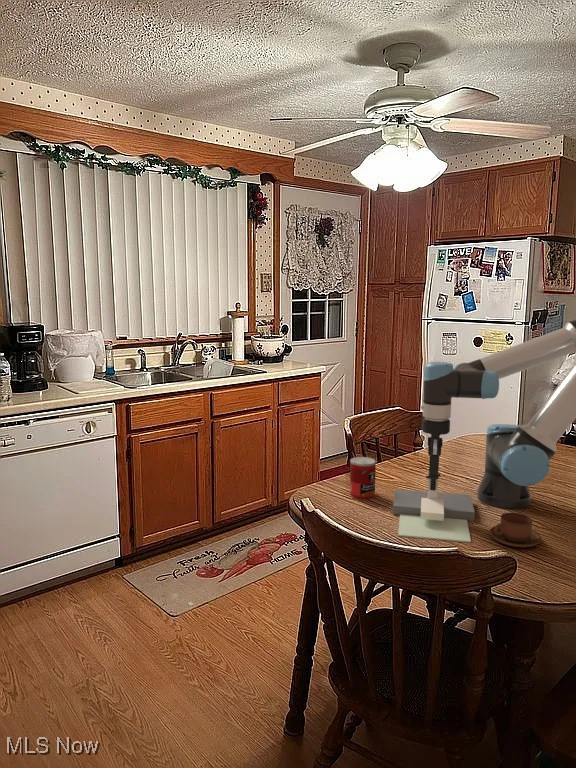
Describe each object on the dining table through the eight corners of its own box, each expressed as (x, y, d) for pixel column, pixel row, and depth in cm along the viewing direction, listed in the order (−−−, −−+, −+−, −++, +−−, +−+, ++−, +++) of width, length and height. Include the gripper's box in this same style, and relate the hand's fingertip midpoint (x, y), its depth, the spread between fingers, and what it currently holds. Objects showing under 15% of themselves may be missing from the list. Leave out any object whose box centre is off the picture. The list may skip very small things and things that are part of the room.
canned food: (363, 501, 174) (363, 465, 172) (344, 494, 180) (344, 459, 178) (380, 495, 178) (381, 461, 177) (361, 488, 184) (362, 455, 183)
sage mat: (466, 521, 158) (466, 519, 158) (470, 542, 145) (470, 541, 145) (399, 515, 162) (400, 514, 162) (397, 536, 149) (397, 534, 149)
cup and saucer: (522, 556, 138) (524, 532, 137) (480, 539, 148) (481, 516, 146) (550, 543, 145) (552, 520, 144) (507, 527, 154) (509, 505, 153)
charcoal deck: (470, 502, 172) (470, 494, 171) (474, 521, 158) (474, 512, 158) (395, 497, 177) (395, 489, 176) (392, 514, 163) (393, 505, 163)
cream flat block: (421, 504, 164) (421, 497, 163) (443, 506, 162) (443, 499, 162) (420, 518, 155) (420, 511, 155) (443, 520, 154) (443, 514, 153)
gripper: (422, 412, 166) (419, 490, 170) (421, 422, 154) (418, 506, 158) (449, 414, 165) (445, 493, 169) (451, 424, 152) (446, 509, 156)
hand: (432, 499), depth 163 cm, fingers closed
